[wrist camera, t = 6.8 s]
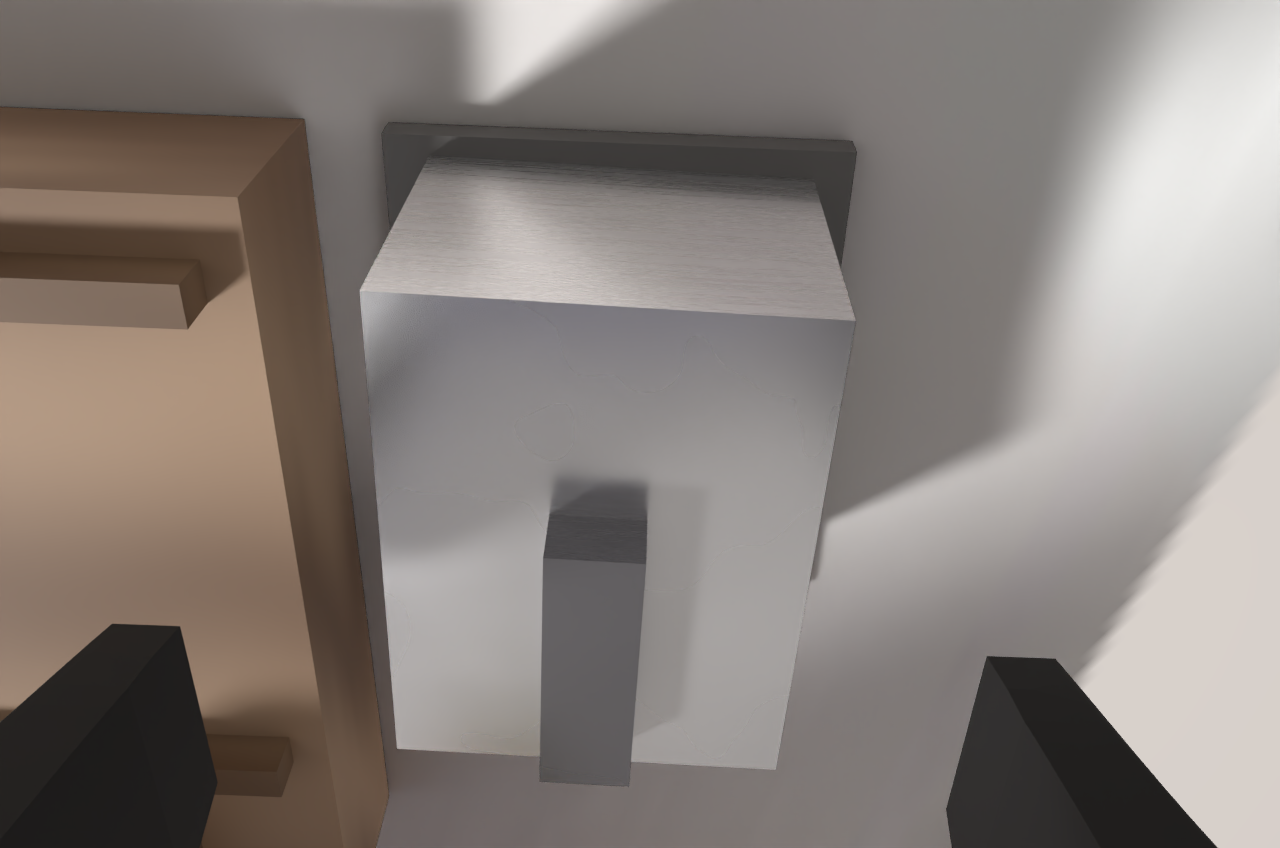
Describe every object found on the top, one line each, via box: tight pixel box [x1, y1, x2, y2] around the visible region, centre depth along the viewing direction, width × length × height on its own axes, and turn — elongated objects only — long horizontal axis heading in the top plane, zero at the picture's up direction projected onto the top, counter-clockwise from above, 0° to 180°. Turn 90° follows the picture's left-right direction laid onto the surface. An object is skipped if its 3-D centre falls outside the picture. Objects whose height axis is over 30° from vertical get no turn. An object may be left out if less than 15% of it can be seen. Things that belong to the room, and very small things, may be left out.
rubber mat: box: [381, 123, 857, 269], centre depth 15 cm, size 7×6×1 cm
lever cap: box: [359, 155, 856, 787], centre depth 13 cm, size 6×4×4 cm
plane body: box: [0, 107, 389, 848], centre depth 14 cm, size 12×6×6 cm, turn 178°
